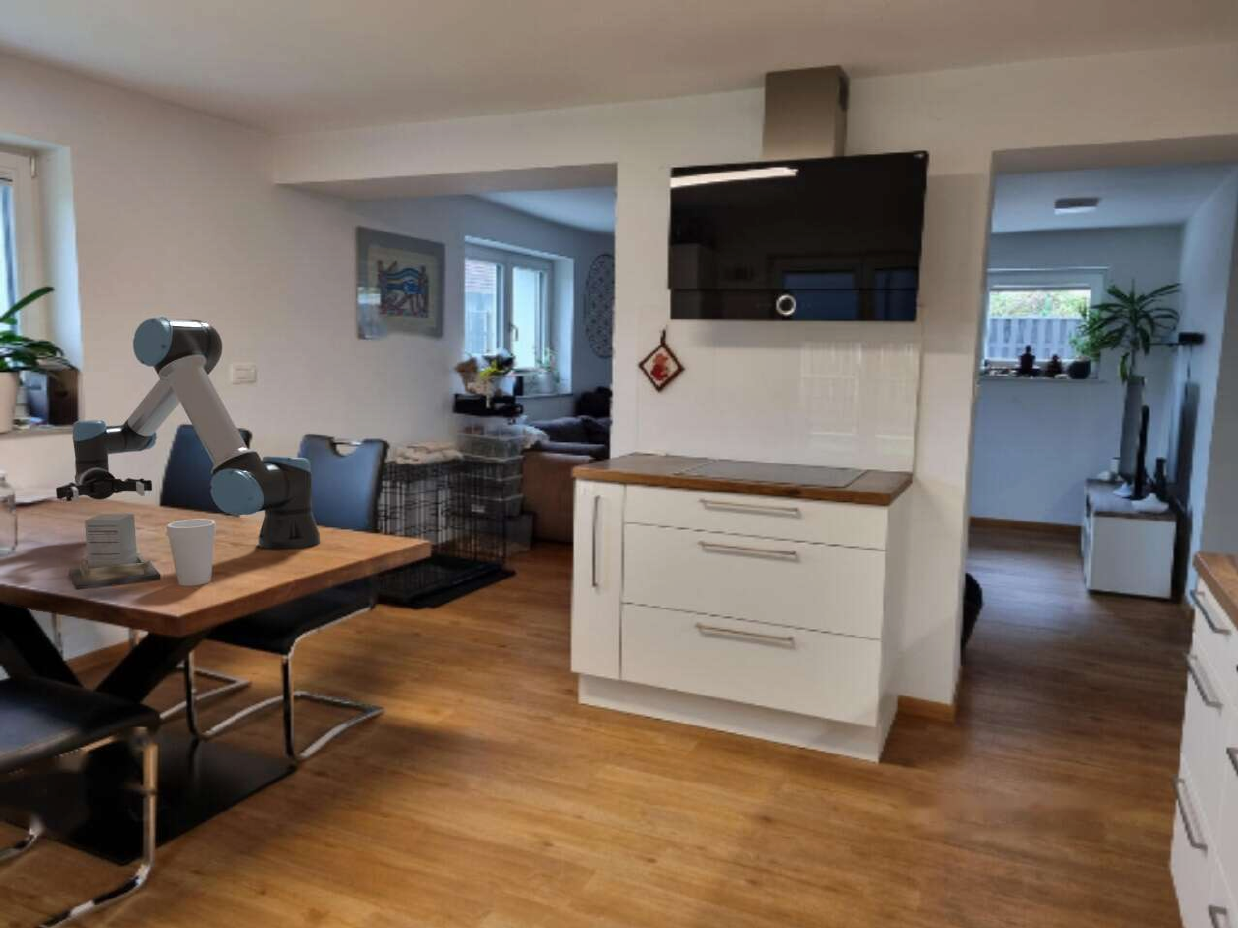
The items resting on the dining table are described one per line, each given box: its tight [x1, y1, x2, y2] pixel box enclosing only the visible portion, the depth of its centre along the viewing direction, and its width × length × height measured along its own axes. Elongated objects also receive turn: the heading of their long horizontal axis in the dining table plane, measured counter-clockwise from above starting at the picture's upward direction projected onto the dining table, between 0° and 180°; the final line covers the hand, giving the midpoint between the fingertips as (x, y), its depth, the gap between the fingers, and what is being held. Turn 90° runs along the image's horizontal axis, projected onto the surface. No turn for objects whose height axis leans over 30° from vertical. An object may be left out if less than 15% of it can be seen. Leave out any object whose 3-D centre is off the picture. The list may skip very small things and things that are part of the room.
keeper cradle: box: [68, 552, 162, 591], centre depth 192 cm, size 16×16×4 cm
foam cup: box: [166, 518, 217, 587], centre depth 188 cm, size 10×9×13 cm
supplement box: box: [84, 513, 138, 569], centre depth 192 cm, size 7×7×13 cm
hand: (110, 492), depth 205 cm, fingers open, 13 cm apart
